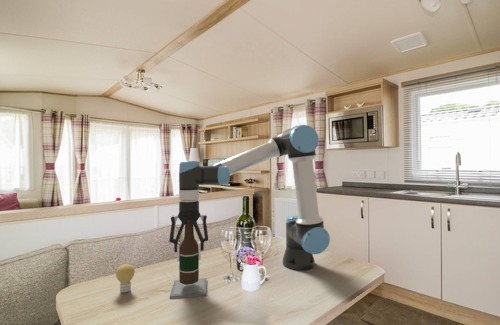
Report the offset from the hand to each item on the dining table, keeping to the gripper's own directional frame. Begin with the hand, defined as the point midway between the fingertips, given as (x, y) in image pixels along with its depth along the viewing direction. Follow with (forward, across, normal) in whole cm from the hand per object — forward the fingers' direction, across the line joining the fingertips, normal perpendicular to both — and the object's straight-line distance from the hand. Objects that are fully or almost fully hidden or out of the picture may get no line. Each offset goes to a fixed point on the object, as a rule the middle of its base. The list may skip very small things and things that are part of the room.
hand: (189, 259), depth 102 cm
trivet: (+11, 0, 0) cm, 11 cm away
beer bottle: (+8, 0, 0) cm, 8 cm away
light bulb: (+12, +24, -2) cm, 27 cm away
